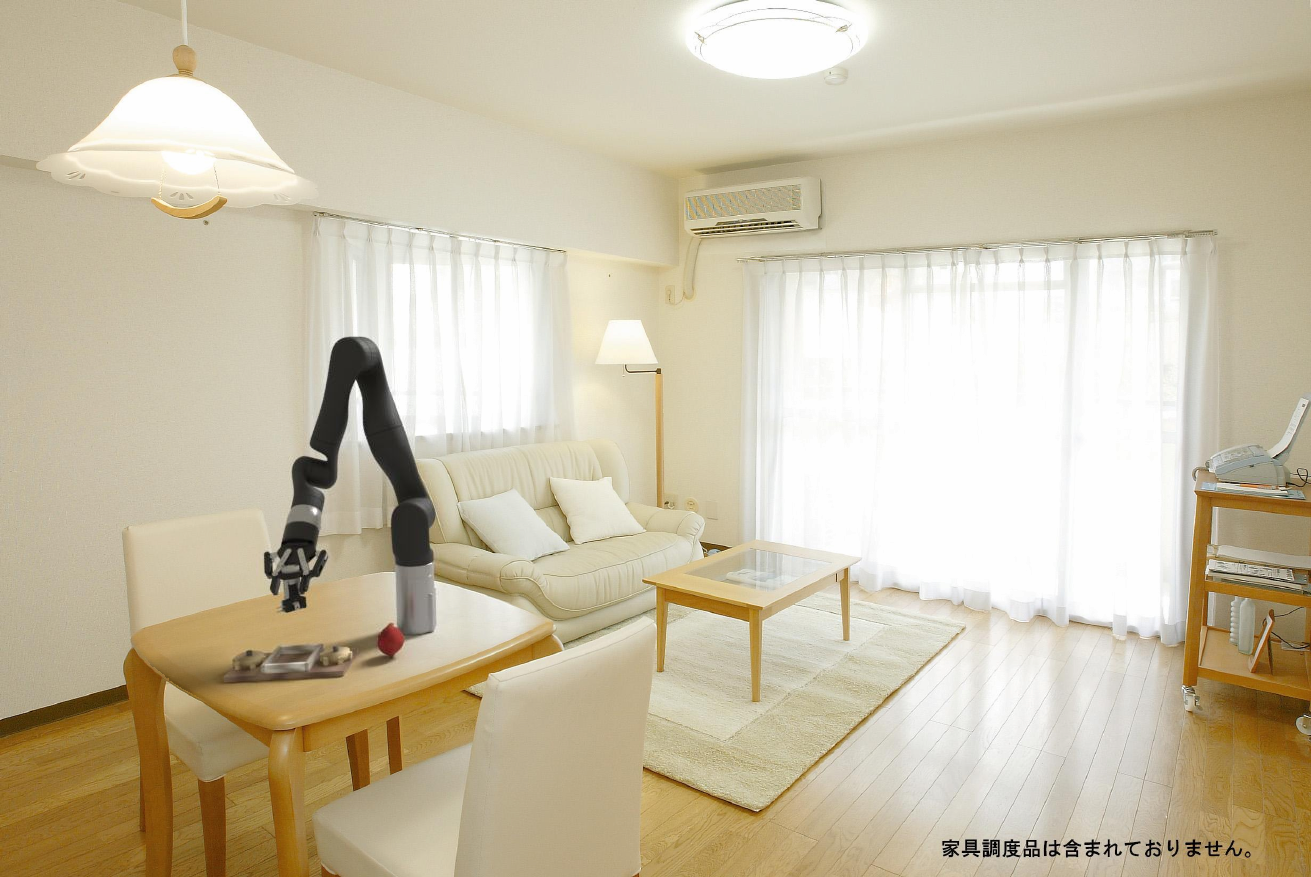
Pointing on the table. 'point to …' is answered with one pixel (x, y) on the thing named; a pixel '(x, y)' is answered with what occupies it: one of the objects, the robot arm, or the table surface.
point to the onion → (390, 640)
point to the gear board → (291, 663)
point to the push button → (291, 588)
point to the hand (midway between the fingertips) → (288, 593)
